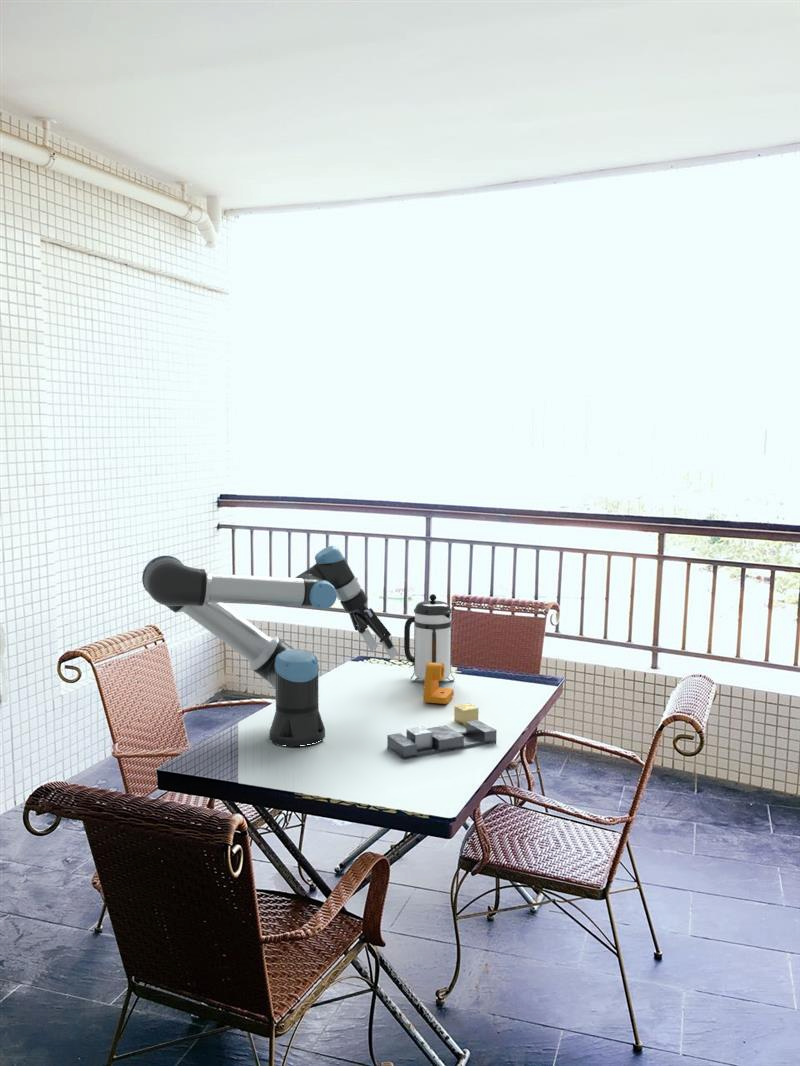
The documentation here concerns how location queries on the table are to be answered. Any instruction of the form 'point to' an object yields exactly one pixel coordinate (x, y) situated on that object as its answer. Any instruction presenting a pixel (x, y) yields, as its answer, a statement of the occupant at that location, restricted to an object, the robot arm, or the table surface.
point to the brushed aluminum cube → (420, 738)
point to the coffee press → (430, 637)
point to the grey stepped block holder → (444, 740)
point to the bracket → (436, 685)
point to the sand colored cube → (465, 713)
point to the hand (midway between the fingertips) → (384, 652)
